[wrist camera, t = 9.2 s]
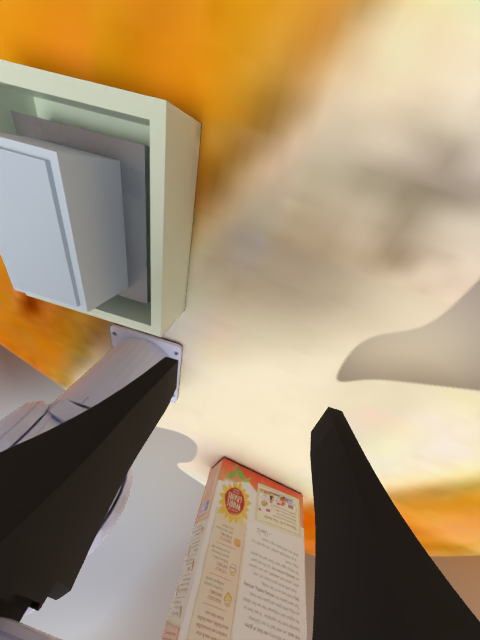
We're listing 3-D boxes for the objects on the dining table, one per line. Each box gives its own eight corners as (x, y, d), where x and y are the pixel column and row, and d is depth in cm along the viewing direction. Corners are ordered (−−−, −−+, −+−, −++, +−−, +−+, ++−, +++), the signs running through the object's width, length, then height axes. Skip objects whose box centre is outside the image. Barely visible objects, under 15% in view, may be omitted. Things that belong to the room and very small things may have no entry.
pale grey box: (128, 287, 17) (84, 314, 13) (68, 269, 17) (9, 291, 14) (119, 160, 13) (50, 151, 9) (39, 139, 13) (-58, 121, 9)
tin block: (163, 291, 19) (147, 304, 17) (79, 266, 20) (54, 275, 18) (166, 150, 14) (144, 145, 12) (51, 121, 14) (10, 110, 12)
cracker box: (209, 469, 36) (131, 732, 19) (224, 454, 33) (146, 757, 16) (283, 504, 38) (273, 784, 20) (304, 494, 34) (315, 818, 17)
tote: (184, 309, 21) (161, 337, 17) (72, 275, 22) (26, 295, 18) (201, 123, 14) (166, 100, 10) (30, 81, 14) (-64, 43, 10)
